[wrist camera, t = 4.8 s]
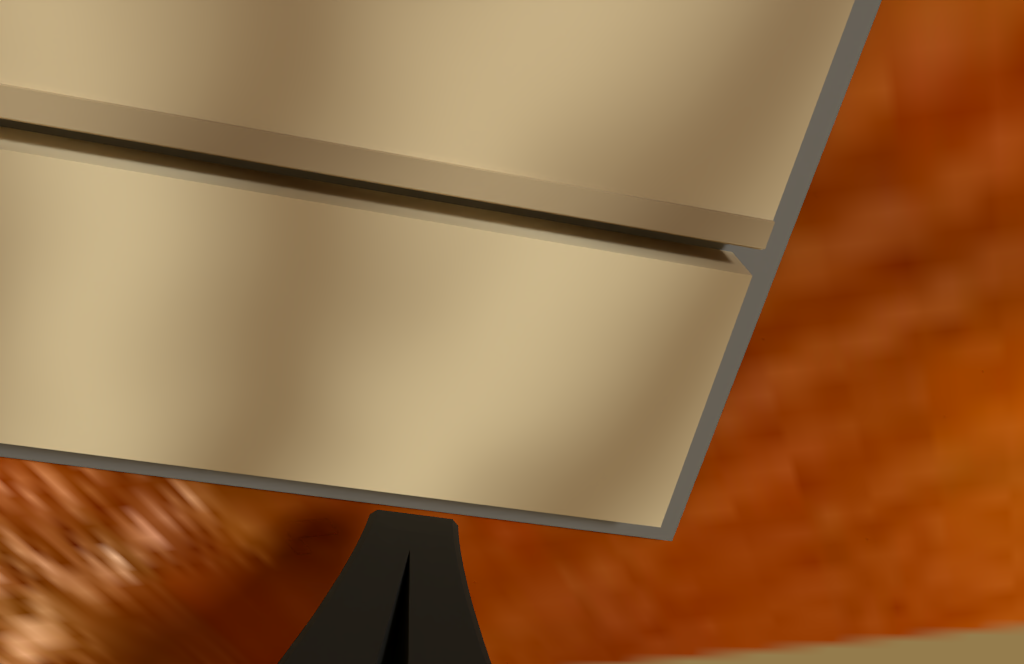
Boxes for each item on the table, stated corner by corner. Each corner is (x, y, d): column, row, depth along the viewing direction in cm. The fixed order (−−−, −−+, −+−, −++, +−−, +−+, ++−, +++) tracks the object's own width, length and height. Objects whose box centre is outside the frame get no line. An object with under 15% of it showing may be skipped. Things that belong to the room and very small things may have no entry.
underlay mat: (-206, 420, 15) (-219, 428, 15) (-598, -706, 8) (-636, -729, 8) (669, 532, 17) (671, 540, 17) (982, -286, 10) (995, -294, 10)
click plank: (-190, 379, 15) (-245, 411, 13) (-284, 77, 12) (-360, 88, 11) (649, 490, 16) (660, 527, 15) (732, 251, 14) (752, 275, 13)
